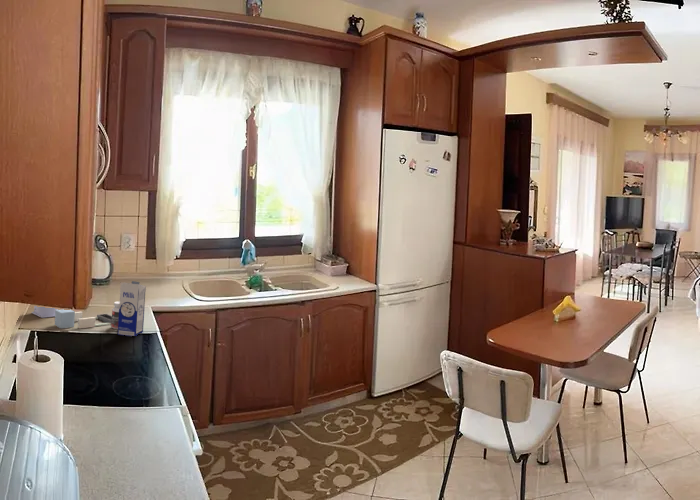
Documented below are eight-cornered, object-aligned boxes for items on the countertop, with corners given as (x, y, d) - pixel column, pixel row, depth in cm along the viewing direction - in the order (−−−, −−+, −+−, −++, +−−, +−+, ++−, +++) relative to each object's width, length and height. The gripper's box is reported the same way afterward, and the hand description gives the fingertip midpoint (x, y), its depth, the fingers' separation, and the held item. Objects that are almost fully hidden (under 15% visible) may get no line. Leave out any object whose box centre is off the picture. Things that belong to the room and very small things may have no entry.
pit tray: (96, 318, 235) (97, 314, 235) (106, 317, 238) (106, 313, 238) (110, 324, 229) (110, 320, 228) (119, 323, 232) (120, 319, 232)
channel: (65, 321, 226) (65, 313, 225) (96, 318, 235) (96, 310, 235) (79, 328, 219) (79, 319, 218) (110, 324, 228) (111, 315, 228)
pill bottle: (107, 327, 224) (109, 302, 223) (117, 325, 229) (119, 300, 228) (120, 330, 222) (121, 304, 221) (130, 327, 227) (131, 302, 226)
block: (54, 325, 219) (55, 310, 219) (67, 324, 223) (68, 308, 223) (60, 328, 216) (61, 312, 216) (74, 327, 220) (74, 311, 220)
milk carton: (117, 334, 215) (120, 281, 213) (125, 330, 222) (128, 279, 220) (135, 337, 215) (138, 283, 213) (143, 332, 222) (146, 281, 220)
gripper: (28, 269, 203) (27, 307, 205) (70, 268, 214) (68, 304, 216) (20, 266, 208) (18, 303, 209) (61, 265, 219) (59, 300, 220)
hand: (43, 303), depth 213 cm, fingers closed
